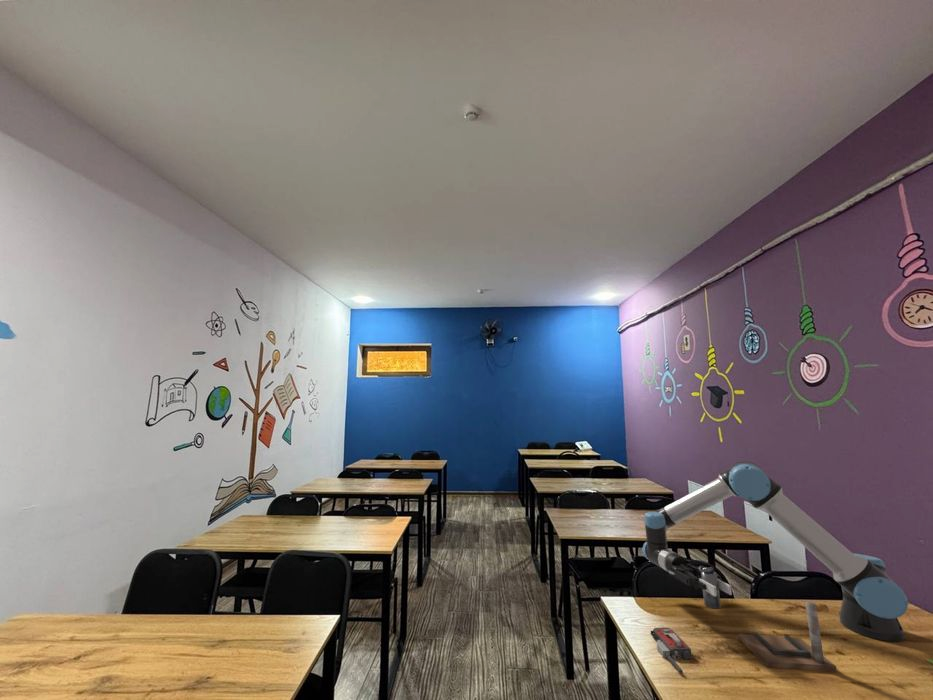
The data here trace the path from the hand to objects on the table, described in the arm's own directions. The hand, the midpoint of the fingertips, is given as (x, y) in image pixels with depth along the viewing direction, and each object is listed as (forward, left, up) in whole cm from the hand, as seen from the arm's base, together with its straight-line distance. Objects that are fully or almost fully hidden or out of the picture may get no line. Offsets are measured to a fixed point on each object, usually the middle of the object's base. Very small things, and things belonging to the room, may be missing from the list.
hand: (722, 590), depth 122 cm
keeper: (-15, +2, -16) cm, 22 cm away
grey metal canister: (+1, -5, -7) cm, 8 cm away
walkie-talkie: (+18, +5, -17) cm, 25 cm away
